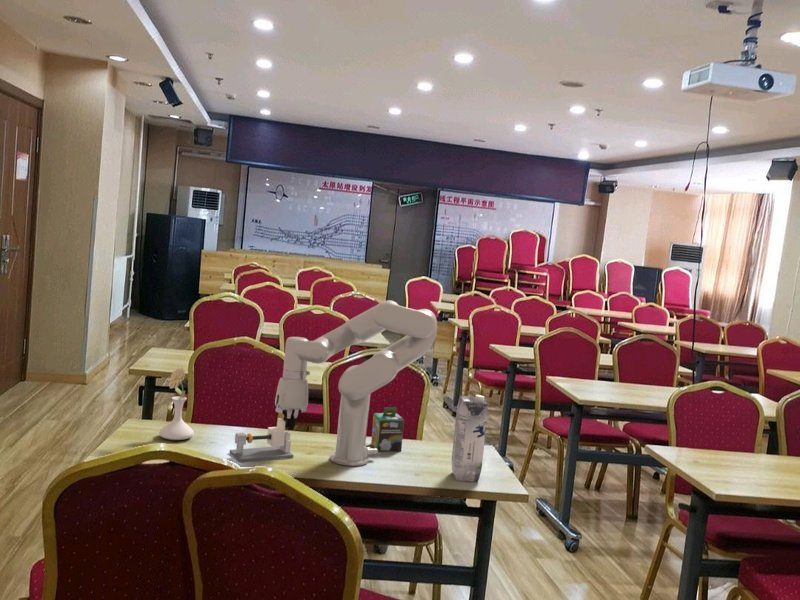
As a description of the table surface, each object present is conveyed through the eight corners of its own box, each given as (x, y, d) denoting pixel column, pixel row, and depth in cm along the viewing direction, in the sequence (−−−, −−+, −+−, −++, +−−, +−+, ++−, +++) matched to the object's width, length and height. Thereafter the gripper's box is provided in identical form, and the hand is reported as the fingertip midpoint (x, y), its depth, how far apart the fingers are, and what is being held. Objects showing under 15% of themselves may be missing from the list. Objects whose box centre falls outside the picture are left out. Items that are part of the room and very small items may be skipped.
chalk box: (394, 443, 267) (398, 403, 266) (402, 451, 258) (406, 410, 257) (369, 443, 264) (373, 403, 263) (376, 451, 255) (381, 409, 254)
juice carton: (453, 481, 231) (462, 397, 228) (449, 471, 241) (457, 390, 239) (481, 483, 231) (490, 399, 229) (475, 472, 242) (484, 392, 240)
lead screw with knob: (285, 438, 244) (286, 430, 244) (289, 441, 241) (290, 432, 241) (239, 442, 235) (240, 432, 235) (242, 444, 233) (243, 435, 233)
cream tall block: (278, 441, 244) (280, 417, 243) (283, 445, 239) (286, 421, 239) (266, 442, 241) (268, 418, 241) (272, 446, 237) (274, 422, 237)
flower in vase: (158, 433, 251) (163, 361, 249) (192, 433, 255) (197, 362, 253) (159, 444, 239) (164, 369, 237) (195, 444, 243) (201, 370, 241)
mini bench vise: (281, 448, 247) (283, 428, 247) (293, 457, 239) (295, 436, 238) (229, 452, 238) (231, 431, 237) (240, 462, 229) (241, 440, 229)
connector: (241, 452, 236) (243, 432, 236) (244, 455, 234) (246, 435, 233) (233, 453, 235) (235, 433, 234) (237, 455, 232) (238, 435, 232)
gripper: (310, 372, 248) (305, 425, 250) (268, 372, 240) (263, 427, 242) (320, 376, 242) (314, 431, 243) (277, 377, 234) (272, 433, 235)
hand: (289, 429), depth 242 cm, fingers closed
